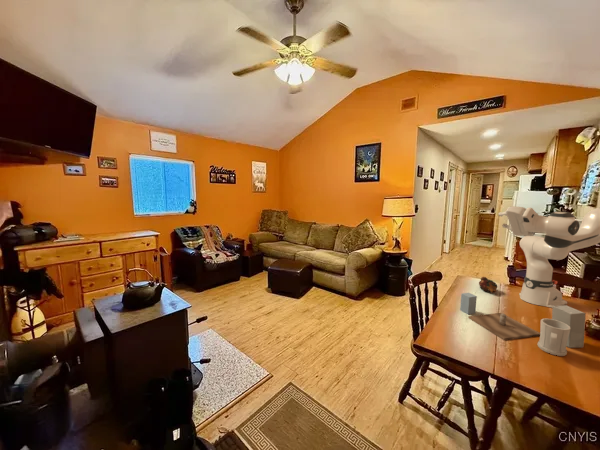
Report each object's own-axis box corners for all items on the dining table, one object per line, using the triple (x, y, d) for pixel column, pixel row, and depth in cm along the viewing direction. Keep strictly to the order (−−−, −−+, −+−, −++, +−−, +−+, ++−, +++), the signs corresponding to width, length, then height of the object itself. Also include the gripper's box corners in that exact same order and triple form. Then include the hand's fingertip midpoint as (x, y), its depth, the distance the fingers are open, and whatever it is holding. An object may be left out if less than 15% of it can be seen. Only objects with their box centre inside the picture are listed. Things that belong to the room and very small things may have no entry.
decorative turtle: (487, 286, 173) (489, 275, 172) (502, 297, 159) (504, 285, 157) (472, 285, 174) (474, 274, 173) (486, 296, 160) (488, 284, 158)
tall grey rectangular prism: (467, 309, 143) (468, 292, 141) (475, 313, 138) (476, 296, 136) (460, 310, 141) (461, 293, 140) (467, 314, 137) (469, 297, 135)
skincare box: (583, 348, 107) (589, 313, 105) (566, 348, 107) (571, 314, 105) (563, 336, 115) (568, 304, 113) (547, 336, 115) (552, 304, 113)
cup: (576, 360, 100) (580, 333, 98) (549, 358, 101) (553, 330, 100) (555, 344, 110) (559, 319, 108) (531, 342, 112) (534, 317, 110)
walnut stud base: (500, 314, 136) (502, 302, 135) (540, 335, 116) (542, 322, 115) (468, 317, 133) (469, 306, 132) (503, 340, 113) (505, 326, 112)
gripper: (538, 232, 134) (507, 228, 146) (531, 205, 125) (499, 203, 137) (533, 240, 133) (502, 235, 145) (525, 214, 124) (493, 211, 136)
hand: (500, 219), depth 141 cm, fingers open, 8 cm apart
